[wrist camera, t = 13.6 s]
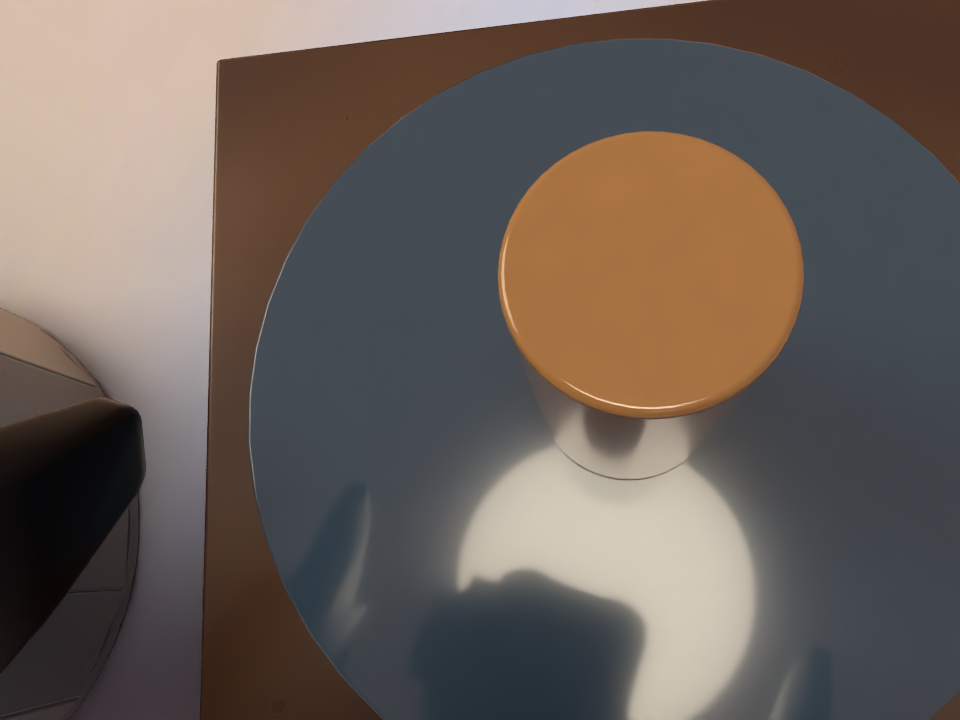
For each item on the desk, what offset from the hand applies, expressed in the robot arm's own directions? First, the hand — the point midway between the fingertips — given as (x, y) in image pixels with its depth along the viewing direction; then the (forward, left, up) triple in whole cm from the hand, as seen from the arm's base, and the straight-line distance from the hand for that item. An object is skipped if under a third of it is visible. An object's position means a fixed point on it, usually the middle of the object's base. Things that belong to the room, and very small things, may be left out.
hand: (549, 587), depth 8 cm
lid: (+3, -1, -5) cm, 5 cm away
